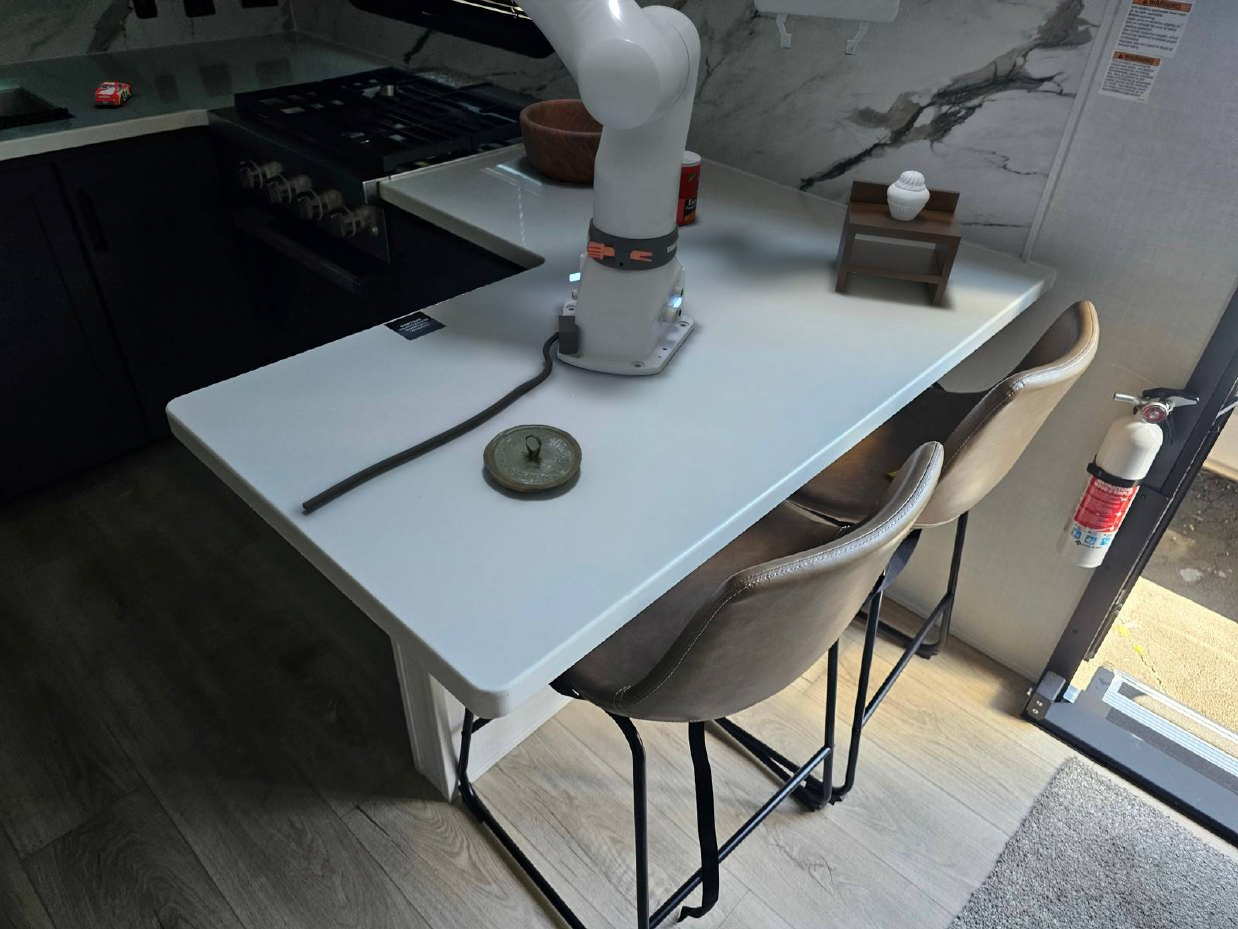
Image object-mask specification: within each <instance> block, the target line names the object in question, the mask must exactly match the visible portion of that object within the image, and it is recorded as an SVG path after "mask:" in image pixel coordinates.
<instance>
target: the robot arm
mask: <svg viewBox="0 0 1238 929" xmlns="http://www.w3.org/2000/svg"><path fill="white" fill-rule="evenodd" d="M512 1H513V2H514V3H515V4H516V5H517V7H519V8H520V9H521V11H523V13H525V14H526V15H527V17H528V18H529V19H530V20H531V21H532V22H533V23H534V24H535V26H536V27H537V28H538V29H539V30H540V31H541V33H542V34H543V36H544V37H545V38H546V40H547V41H548V42H549V44H550V45H551V47H552V48H553V49H554V51H555V52H556V54H557V55H558V57H559V59H560V60H561V62H562V63H563V64H564V66H565V67H566V69H567V71H568V72H569V74H570V75H571V77H572V79H573V80H574V82H575V83H576V84H577V87H578V92H579V95H580V96H579V97H580V99H582V101H583V104H584V106H585V107H586V109H587V111H588V112H589V113H590V115H591V116H592V117H593V118H594V119H595V120H597V121H598V122H599V123H601V124H602V125H603V130H602V135H601V139H600V144H599V148H598V151H597V154H596V158H595V164H594V183H593V195H592V197H593V200H592V217H591V218H590V220H589V226H588V229H587V237H586V239H587V244H586V251H585V252H583V253H582V254H580V255H579V256H580V257H579V272H577V273H572V274H569V281H570V282H574V281H578V287H577V289H573V291H572V292H571V299H572V300H571V299H570V300H567V301H565V302H564V303H563V308H562V309H563V310H562V314H560V315H558V331H555V332H554V333H553V334H552V335H551V336H549V338H548V339H547V340H546V341H545V342H544V344H543V346H542V356H543V359H544V361H545V365H544V368H543V369H542V371H541V372H540V373H539V374H537V375H536V376H535V377H533V378H531V379H529V380H527V381H525V382H523V383H522V384H520V385H518V386H517V387H515V388H513V389H512V390H511V391H510V392H509V393H507V394H505V395H504V396H503V397H502V398H499V400H497V401H496V402H494V403H493V404H491V405H489V406H488V407H487V408H486V409H483V410H482V411H481V412H478V413H477V414H475V415H473V416H472V417H470V418H469V419H467V420H465V421H463V422H461V423H459V424H457V425H454V426H453V427H451V428H449V429H447V430H445V431H443V432H440V433H439V434H437V435H434V436H432V437H430V438H428V439H426V440H424V441H422V442H420V443H418V444H415V445H413V446H412V447H408V448H407V449H405V450H403V451H400V452H398V453H396V454H393V455H392V456H389V457H386V458H385V459H382V460H380V461H378V462H375V463H374V464H372V465H370V466H367V467H365V468H364V469H362V470H359V471H358V472H356V473H354V474H352V475H350V476H348V477H347V478H345V479H343V480H341V481H339V482H338V483H336V484H334V485H332V486H331V487H329V488H327V489H326V490H324V491H322V492H319V493H318V494H317V495H315V496H313V497H312V498H310V499H308V500H306V501H304V502H302V504H301V506H302V508H303V510H304V511H306V512H308V511H310V510H311V509H313V508H315V507H317V506H318V505H320V504H322V503H324V502H326V501H327V500H329V499H330V498H332V497H335V495H338V494H339V493H341V492H342V491H344V490H346V489H348V488H350V487H352V486H354V485H355V484H357V483H359V482H361V481H362V480H365V479H366V478H369V477H370V476H373V475H374V474H376V473H379V472H380V471H383V470H384V469H388V468H389V467H391V466H394V465H395V464H397V463H400V462H402V461H404V460H406V459H409V458H411V457H413V456H416V455H417V454H420V453H421V452H423V451H426V450H428V449H430V448H432V447H435V446H436V445H439V444H440V443H442V442H445V441H447V440H448V439H451V438H453V437H454V436H457V435H458V434H460V433H462V432H464V431H466V430H468V429H469V428H472V427H473V426H475V425H477V424H478V423H480V422H482V421H484V420H485V419H487V418H488V417H490V416H491V415H493V414H495V413H496V412H498V411H499V410H501V409H502V408H503V407H504V406H506V405H507V404H509V403H510V402H511V401H513V400H514V399H515V398H517V397H518V396H520V395H521V394H522V393H524V392H525V391H527V390H529V389H531V388H533V387H535V386H537V385H539V384H540V383H542V382H543V381H544V380H545V379H546V378H547V377H548V376H549V374H550V373H551V370H552V368H553V358H552V355H551V354H550V349H551V347H552V346H553V344H555V343H556V342H557V341H558V344H557V351H556V358H558V359H559V360H560V361H562V362H564V363H566V364H568V365H572V366H574V367H578V368H582V369H586V370H590V371H596V372H600V373H605V374H606V373H607V374H615V375H623V376H624V375H625V376H646V375H654V374H658V373H660V372H661V371H662V370H663V369H664V368H665V366H666V365H667V364H668V363H669V362H670V360H671V359H672V357H673V356H674V354H676V352H677V351H678V350H679V349H680V347H681V346H682V344H683V343H684V342H685V340H686V339H687V338H688V337H689V335H691V333H692V332H693V330H694V328H695V321H694V319H693V318H692V317H690V316H688V315H687V314H684V304H685V302H684V301H685V287H686V269H685V268H684V266H683V265H682V263H680V261H679V260H678V258H677V256H676V254H677V252H678V244H679V238H680V234H679V225H678V224H677V223H676V217H677V206H678V196H679V186H680V176H681V167H682V161H683V155H684V150H686V145H687V139H688V136H689V135H688V134H689V129H690V125H691V119H692V112H693V107H694V101H695V95H696V88H697V82H698V74H699V68H700V63H701V56H702V55H701V54H702V47H701V46H702V44H701V38H700V35H699V33H698V30H697V27H696V26H695V24H694V23H693V22H692V20H691V19H690V18H689V17H688V16H687V15H686V14H684V13H683V12H681V11H680V10H678V9H676V8H673V7H669V6H665V5H649V6H644V7H641V6H640V5H639V4H638V3H637V2H636V0H512ZM900 2H901V0H753V5H754V8H755V9H756V10H757V12H761V13H771V14H772V13H773V14H776V20H775V23H776V26H777V29H778V32H779V34H780V44H779V48H780V49H785V50H790V49H791V43H792V42H791V41H792V37H793V34H792V33H787V30H786V27H785V24H784V23H786V22H787V19H788V18H787V17H788V15H793V16H805V17H817V18H827V19H838V20H847V21H857V22H858V23H857V24H858V25H857V29H858V32H857V33H856V35H855V36H854V37H853V38H852V39H846V45H845V49H844V55H847V56H855V55H856V53H857V48H858V43H860V42H861V40H862V39H863V38H864V36H865V35H866V34H867V32H868V31H869V27H870V23H880V24H881V23H882V24H891V23H892V22H894V20H895V19H896V18H897V17H898V14H899V13H898V12H899V8H900Z"/></svg>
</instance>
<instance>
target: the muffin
mask: <svg viewBox="0 0 1238 929" xmlns="http://www.w3.org/2000/svg"><path fill="white" fill-rule="evenodd" d="M891 184H892V185H891V186H890V187H889V188H888V190H887V196H888V199H887V200H888V204H889V208H890V212H891V216H892V217H893V218H895V219H898V220H903V221H910V220H912V219H913V218H914V217H915V216H916V215H917V214H918V213H919V212H920V211H921V209H922V208H923V207H924V206H925V203H926V202H927V201H928V200H929V196H930V194H929V191H928V190H927V189H926V188H927V186H926V184H925V176H924V175H923V174H922V173H921V172H919V171H915V170H906V171H903V172H901V174H900V176H899V178H898V179H897V180H895V182H893V183H891Z"/></svg>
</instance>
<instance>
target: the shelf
mask: <svg viewBox="0 0 1238 929" xmlns="http://www.w3.org/2000/svg"><path fill="white" fill-rule="evenodd" d="M892 184H893V183H890V182H883V181H882V182H881V181H874V180H866V179H857V178H853V181H852V185H851V189H850V194H849V198H848V202H847V208H846V212H845V215H844V216H845V217H844V222H843V226H842V231H841V235H840V241H839V244H838V249H837V254H836V257H835V262H834V292H838V293H843V292H844V288H845V284H846V280H847V275H848V273H853V274H859V275H868V276H876V277H884V278H889V279H899V280H906V281H913V282H921V283H928V287H929V288H928V289H929V292H930V298H931V302H932V305H934V306H941V305H942V302H943V299H944V296H945V292H946V289H947V286H948V283H949V281H950V280H949V279H950V276H951V273H952V269H953V267H954V263H955V260H956V257H957V253H958V250H959V247H960V244H961V241H962V237H963V236H962V234H961V230H960V226H959V223H958V220H957V217H956V210H957V206H958V202H959V199H960V195H961V192H960V191H958V190H950V189H940V188H934V187H933V188H932V187H926V189H927V190H928V191H929V194H930V196H929V200H928V201H927V202H926V203H925V206H924V207H923V208H922V209H921V211H920V212H919V213H918V214H917V215H916V216H915V217H914V218H913V219H912V220H910V221H903V220H898V219H895V218H893V217H892V216H891V212H890V208H889V204H888V200H887V199H888V196H887V190H888V188H889V187H890V186H891V185H892ZM857 234H858V235H864V236H871V237H873V236H874V237H881V238H886V239H887V238H888V239H896V240H905V241H912V242H920V243H928V244H935V246H934V248H933V247H932V248H931V247H924V246H916V245H908V244H899V243H892V242H884V241H877V240H871V239H869V240H868V239H862V238H861V239H860V238H856V235H857Z"/></svg>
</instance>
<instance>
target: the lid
mask: <svg viewBox="0 0 1238 929" xmlns="http://www.w3.org/2000/svg"><path fill="white" fill-rule="evenodd" d="M482 458H483V464H484V467H485V470H486V471H487V472H488V474H489V475H490V477H492V478H493V480H494V481H495V482H497V483H498V484H500V485H501V486H502V487H504V488H506V489H507V490H510V491H513V492H521V493H539V492H544V491H549V490H551V489H555V488H558V487H561V486H562V485H565V484H567V482H569V481H570V480H571V479H572V478H574V476H575V475H576V474H577V473H578V470H579V468H580V467H581V465H582V464H581V463H582V460H583V453H582V448H581V446H580V443H579V442H578V440H577V439H576V438H575V437H574V436H572V434H571V433H569V432H568V431H566V430H563V429H561V428H558V427H555V426H552V425H547V424H539V423H538V424H535V423H534V424H533V423H532V424H531V423H530V424H519V425H515V426H512V427H509V428H506V429H505V430H503V431H501V432H498V433H497V434H496V435H495V436H494V437H493V438H492V439H490V441H489V442H488V443H487V444H486V446H485V447H484V450H483V453H482Z"/></svg>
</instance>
